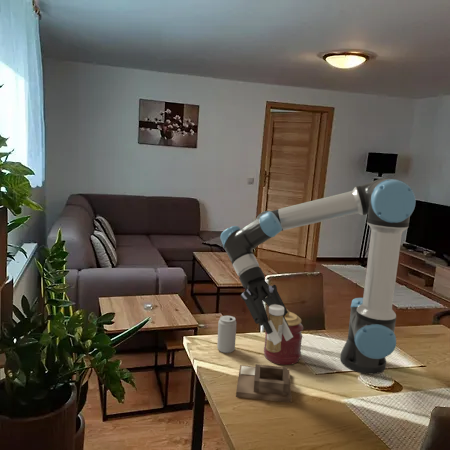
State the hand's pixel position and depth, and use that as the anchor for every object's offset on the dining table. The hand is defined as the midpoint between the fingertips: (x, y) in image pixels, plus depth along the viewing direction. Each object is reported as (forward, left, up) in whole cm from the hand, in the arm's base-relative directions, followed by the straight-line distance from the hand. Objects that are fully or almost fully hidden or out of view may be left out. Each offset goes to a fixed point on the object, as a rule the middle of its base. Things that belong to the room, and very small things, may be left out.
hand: (283, 340), depth 124 cm
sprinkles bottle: (+3, -3, -4) cm, 6 cm away
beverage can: (+19, -26, -17) cm, 36 cm away
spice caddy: (+5, -5, -17) cm, 18 cm away
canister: (-1, -25, -17) cm, 30 cm away
